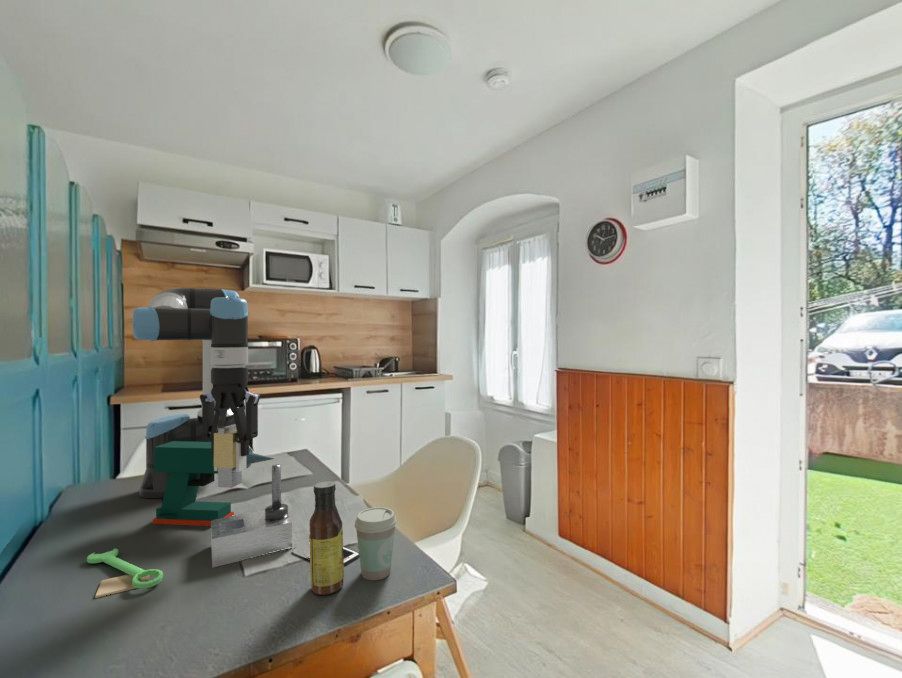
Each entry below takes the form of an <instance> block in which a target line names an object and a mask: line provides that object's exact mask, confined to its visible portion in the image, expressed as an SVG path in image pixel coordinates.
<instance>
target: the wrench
mask: <svg viewBox="0 0 902 678" xmlns="http://www.w3.org/2000/svg"><path fill="white" fill-rule="evenodd" d="M118 555H119V549H118V548H113V549H112V550H109V551H106V552H103V553H96V552H93V553H90V554H89V555H88V556H87V557H86V562H87V563H88V564H99V563H105V564H107V565H109V566H110V567H113V568H115V569H116V570H119V571H121V572H123V573H125V574H126V575H128V574H129V575H131V576H134V577H133V579H132V585H133V587H135V588H136V589H148V588H151V587H154V586H156V585H158V584H160V583H161V582H162V580H163V577H164V572H163V571H162V570H161V569H156V568H155V569H154V568H152V569H151V568H150V569H146V570H145V569H144V568H141V567H139V566H137V565H134V564H132V563H129V562H128V561H125V560H124V559H121V558H119V557H117V556H118ZM148 575H150V577H151V576H155V578H153V579H149V581H147V582H140V581H137V580H138V579H141V578H142V577H146V576H148Z"/></svg>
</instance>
